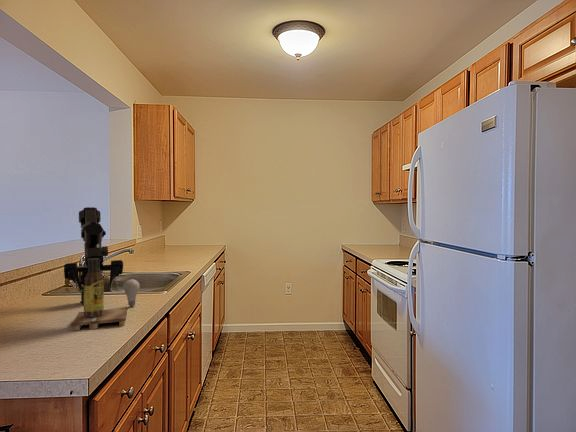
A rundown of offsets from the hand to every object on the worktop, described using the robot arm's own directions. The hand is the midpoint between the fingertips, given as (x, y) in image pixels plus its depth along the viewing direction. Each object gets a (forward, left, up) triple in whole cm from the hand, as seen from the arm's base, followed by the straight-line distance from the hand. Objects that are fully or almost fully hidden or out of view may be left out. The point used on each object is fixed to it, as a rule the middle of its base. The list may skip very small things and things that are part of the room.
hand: (95, 288), depth 135 cm
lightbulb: (-22, -8, -12) cm, 26 cm away
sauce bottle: (0, -2, -10) cm, 10 cm away
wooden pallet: (-2, 0, -12) cm, 12 cm away
